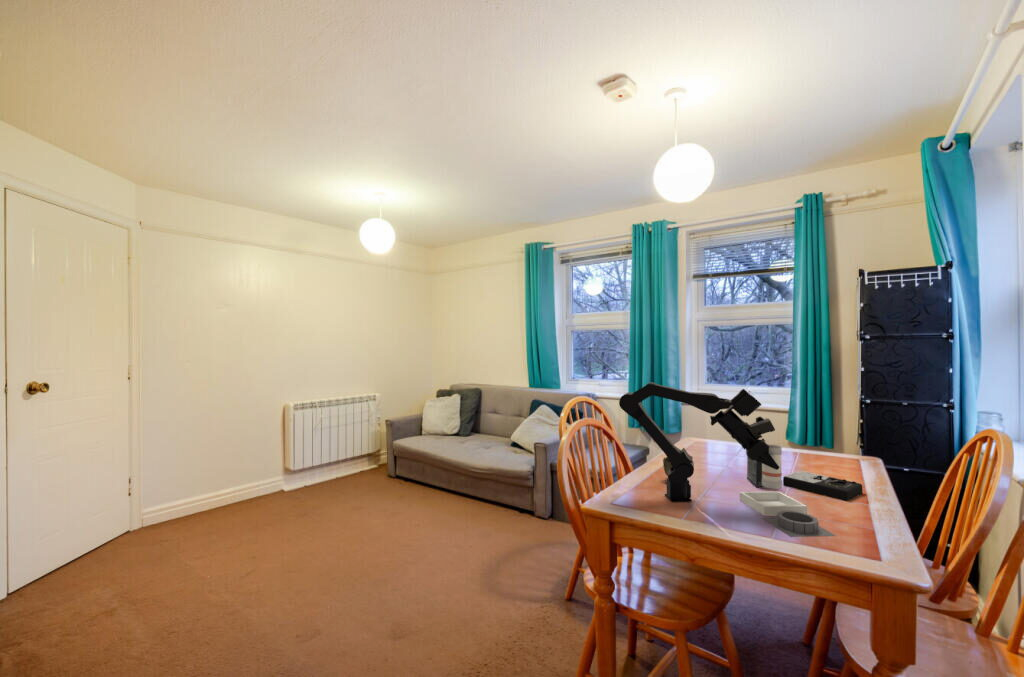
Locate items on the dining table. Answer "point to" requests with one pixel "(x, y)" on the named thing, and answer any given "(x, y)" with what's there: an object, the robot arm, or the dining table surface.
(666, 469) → the cup
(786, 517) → the fuse holder
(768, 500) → the tray
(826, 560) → the dining table surface
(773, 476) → the cylinder
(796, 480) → the multimeter
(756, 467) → the small box
